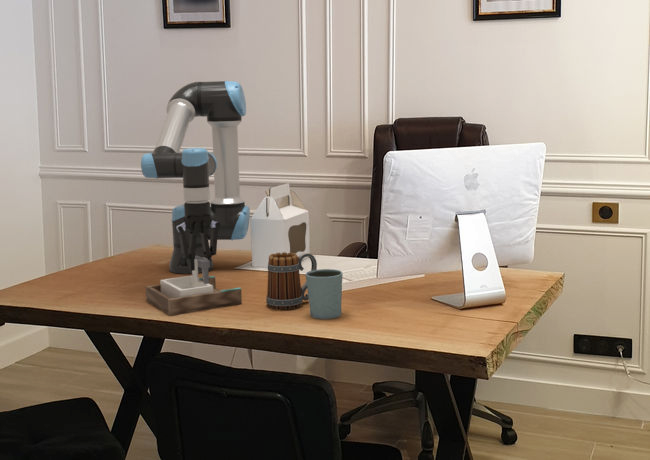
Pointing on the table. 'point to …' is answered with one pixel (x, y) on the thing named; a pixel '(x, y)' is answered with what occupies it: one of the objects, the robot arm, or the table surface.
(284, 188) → the gable box
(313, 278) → the teal coffee mug
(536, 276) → the table surface
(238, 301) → the bay
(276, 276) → the mug
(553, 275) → the table surface
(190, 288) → the white box with handle
